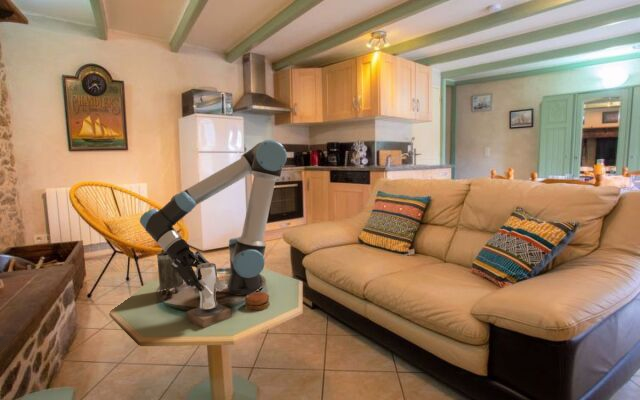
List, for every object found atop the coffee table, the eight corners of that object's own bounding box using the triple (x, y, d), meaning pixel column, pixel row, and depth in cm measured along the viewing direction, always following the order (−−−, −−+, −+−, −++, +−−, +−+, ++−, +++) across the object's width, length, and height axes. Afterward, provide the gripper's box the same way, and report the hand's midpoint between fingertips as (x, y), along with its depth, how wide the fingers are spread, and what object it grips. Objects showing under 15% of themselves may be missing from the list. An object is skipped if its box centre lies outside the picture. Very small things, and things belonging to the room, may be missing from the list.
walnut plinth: (214, 309, 137) (214, 300, 136) (231, 317, 129) (230, 308, 129) (187, 319, 128) (186, 310, 128) (203, 328, 121) (202, 319, 121)
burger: (271, 308, 136) (271, 297, 135) (246, 313, 133) (246, 300, 132) (267, 299, 145) (266, 288, 144) (244, 303, 142) (243, 291, 142)
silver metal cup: (208, 311, 124) (205, 269, 122) (194, 308, 127) (191, 266, 125) (222, 304, 130) (220, 264, 128) (209, 301, 133) (206, 261, 131)
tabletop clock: (160, 290, 159) (155, 234, 156) (182, 286, 163) (177, 232, 160) (160, 301, 146) (155, 241, 143) (184, 297, 150) (180, 238, 147)
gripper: (186, 245, 140) (225, 289, 137) (148, 259, 121) (193, 310, 118) (196, 232, 138) (236, 276, 135) (160, 244, 119) (205, 296, 116)
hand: (216, 292), depth 127 cm, fingers closed on silver metal cup, 7 cm apart
